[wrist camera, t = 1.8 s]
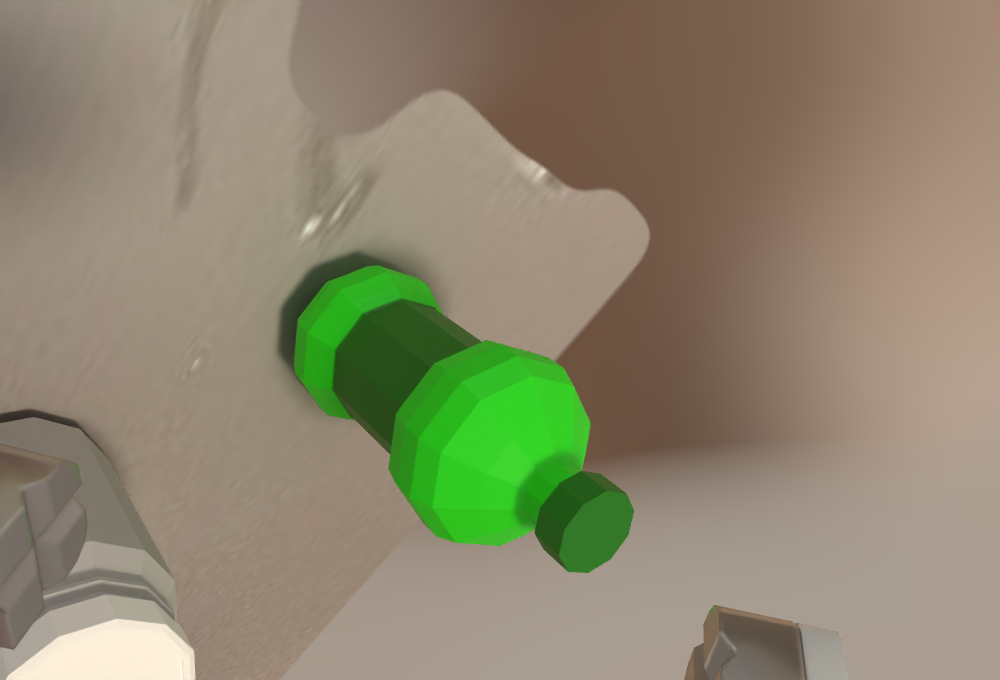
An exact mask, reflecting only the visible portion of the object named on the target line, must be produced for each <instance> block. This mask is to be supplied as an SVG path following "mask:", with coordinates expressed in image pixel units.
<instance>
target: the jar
mask: <svg viewBox="0 0 1000 680" xmlns="http://www.w3.org/2000/svg"><path fill="white" fill-rule="evenodd" d="M0 443H1V444H5V445H9V446H13V447H17V448H21V449H25V450H29V451H33V452H37V453H41V454H45V455H49V456H53V457H57V458H61V459H65V460H69V461H71V462H73V463H76V464H78V467H79V472H80V477H81V482H82V484H81V485H80V487H79V488H78V489H77V491H76V492H75V493H74V494H73V495H74V496H75V497H76V498H77V500H78V501H79V502H80V503H81V504H82V505H83V507H84V508H85V509H86V515H87V522H88V524H87V533H86V541H85V543H84V546H83V548H82V551H81V553H80V556H79V558H78V561H77V563H76V564H75V566H74V567H73V569H72V570H71V572H70V573H69V575H68V576H67V577H66V579H65V580H64V581H62V582H60V583H58V584H56V585H54V586H52V587H50V588H48V589H46V590H44V591H43V596H44V605H45V608H44V609H43V611H42V612H41V614H40V615H39V616H38V618H37V619H36V620H35V622H34V623H33V624H32V626H31V627H30V629H29V630H28V631H27V633H26V634H25V635H24V637H23V638H22V640H21V641H20V642H19V644H18V645H17V646H16V648H15V649H14V650H12V649H7V648H2V647H0V680H195V664H194V650H193V648H192V646H191V644H190V643H189V641H188V639H187V637H186V635H185V633H184V632H183V630H182V628H181V627H180V626H179V625H178V624H177V605H176V586H175V580H174V578H173V576H172V574H171V572H170V571H169V569H168V567H167V565H166V563H165V562H164V560H163V558H162V556H161V554H160V553H159V551H158V549H157V547H156V545H155V543H154V542H153V540H152V538H151V536H150V534H149V533H148V531H147V529H146V527H145V525H144V524H143V522H142V520H141V518H140V516H139V514H138V513H137V511H136V509H135V507H134V505H133V504H132V502H131V500H130V498H129V496H128V495H127V493H126V491H125V489H124V487H123V485H122V484H121V482H120V480H119V478H118V476H117V475H116V473H115V471H114V469H113V467H112V466H111V464H110V462H109V460H108V458H107V457H106V456H105V455H104V454H103V453H102V452H101V451H100V450H99V449H98V448H97V446H96V445H95V444H94V443H93V442H92V441H91V440H90V439H89V438H88V437H87V436H86V435H85V434H84V433H83V432H82V430H81V429H78V428H74V427H71V426H67V425H63V424H59V423H55V422H51V421H48V420H44V419H40V418H36V417H31V418H26V419H20V420H15V421H10V422H4V423H0Z"/></svg>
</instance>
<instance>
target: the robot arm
mask: <svg viewBox="0 0 1000 680" xmlns="http://www.w3.org/2000/svg"><path fill="white" fill-rule="evenodd" d="M81 484H82V482H81V477H80V472H79V467H78V464H76V463H73V462H71V461H69V460H65V459H61V458H57V457H53V456H49V455H45V454H41V453H37V452H33V451H29V450H25V449H21V448H17V447H13V446H9V445H5V444H1V443H0V647H2V648H7V649H12V650H14V649H15V648H16V646H17V645H18V644H19V642H20V641H21V640H22V638H23V637H24V635H25V634H26V633H27V631H28V630H29V629H30V627H31V626H32V624H33V623H34V622H35V620H36V619H37V618H38V616H39V615H40V614H41V612H42V611H43V609H44V608H45V605H44V596H43V591H44V590H46V589H48V588H50V587H52V586H54V585H56V584H58V583H60V582H62V581H64V580H65V579H66V577H67V576H68V575H69V573H70V572H71V570H72V569H73V567H74V566H75V564H76V563H77V561H78V558H79V556H80V553H81V551H82V548H83V546H84V543H85V541H86V533H87V524H88V522H87V515H86V509H85V508H84V507H83V505H82V504H81V503H80V502H79V501H78V500H77V498H76V497H75V496H74V495H73V494H74V493H75V492H76V491H77V489H78V488H79V487H80V485H81ZM685 680H850V679H849V673H848V668H847V662H846V657H845V651H844V645H843V640H842V638H841V637H840V635H839V633H838V632H835V631H830V630H826V629H822V628H817V627H813V626H808V625H804V624H799V623H795V624H794V623H793V622H792V621H787V620H782V619H777V618H773V617H767V616H763V615H759V614H753V613H749V612H745V611H739V610H735V609H731V608H726V607H721V606H717V605H714V606H713V607H712V609H711V610H710V611H709V613H708V615H707V618H706V620H705V623H704V643H703V644H701V645H699V646H697V647H695V648H694V650H693V652H692V655H691V658H690V661H689V663H688V667H687V671H686V676H685Z"/></svg>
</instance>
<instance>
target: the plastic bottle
mask: <svg viewBox="0 0 1000 680" xmlns="http://www.w3.org/2000/svg"><path fill="white" fill-rule="evenodd" d="M294 370H295V374H296V375H297V377H298V378H299V379H300V381H301V382H302V383H303V385H304V386H305V388H306V389H307V390H308V392H309V393H310V395H311V396H312V397H313V399H314V400H315V401H316V403H317V404H318V406H319V407H320V408H321V409H322V410H323V411H324V412H325V413H326V414H327V415H330V416H335V417H339V418H345V419H351V420H356V421H357V422H358V423H359V424H360V425H361V426H362V427H363V428H364V429H365V430H366V431H367V432H368V433H369V434H370V435H371V436H372V437H373V438H374V439H375V440H376V441H377V442H378V443H379V444H380V445H381V446H382V447H383V448H384V449H385V450H386V451H387V452H388V453H389V454H390V461H389V471H390V473H391V475H392V477H393V479H394V481H395V483H396V485H397V486H398V488H399V489H400V490H401V492H402V493H403V495H404V496H405V497H406V499H407V500H408V502H409V503H410V505H411V506H412V507H413V509H414V510H415V512H416V513H417V515H418V516H419V517H420V519H421V520H422V522H423V523H424V524H425V525H426V526H427V527H428V528H429V529H430V530H431V531H432V532H433V533H434V534H435V535H436V536H437V537H440V538H443V539H446V540H449V541H452V542H456V543H468V544H481V545H495V546H501V545H503V544H505V543H507V542H510V541H512V540H514V539H517V538H519V537H521V536H523V535H525V534H527V533H529V532H530V531H532V530H534V529H535V535H536V537H537V538H538V540H539V542H540V543H541V545H542V547H543V549H544V550H545V551H546V552H547V553H548V554H549V555H550V556H551V557H553V558H554V559H555V560H556V561H557V562H558V563H559V564H560V565H561V566H563V567H564V568H565V569H566V570H567V571H568V572H581V573H582V572H583V573H589V572H590V571H592V570H593V569H595V568H597V567H598V566H600V565H602V564H603V563H605V562H607V561H608V560H610V559H611V558H612V556H613V555H614V554H615V552H616V551H617V550H618V548H619V547H620V546H621V544H622V543H623V542H624V540H625V539H626V538H627V536H628V534H629V530H630V526H631V521H632V518H633V513H634V509H633V507H632V505H631V503H630V500H629V498H628V496H627V494H626V493H625V492H624V491H622V490H621V489H620V488H618V487H617V486H616V485H614V484H613V483H612V482H611V481H609V480H608V479H607V478H605V477H604V476H602V475H601V474H598V473H592V472H585V471H582V467H583V462H584V457H585V453H586V447H587V442H588V437H589V431H590V426H591V424H590V421H589V419H588V417H587V415H586V412H585V410H584V408H583V406H582V404H581V401H580V399H579V397H578V395H577V392H576V390H575V388H574V386H573V384H572V382H571V380H570V379H569V377H568V375H567V373H566V372H565V370H564V368H563V367H561V366H560V365H558V364H557V363H555V362H554V361H552V360H551V359H549V358H548V357H545V356H542V355H538V354H535V353H532V352H529V351H525V350H521V349H518V348H514V347H510V346H507V345H503V344H499V343H496V342H492V341H488V340H485V341H483V342H481V341H480V340H478V339H477V338H475V337H474V336H473V335H471V334H470V333H468V332H467V331H465V330H464V329H463V328H461V327H460V326H458V325H457V324H456V323H454V322H453V321H451V320H450V319H448V318H447V317H446V316H444V314H443V312H442V310H441V309H440V307H439V305H438V303H437V301H436V299H435V298H434V296H433V294H432V292H431V290H430V288H429V287H428V285H427V284H426V283H424V282H423V281H421V280H420V279H419V278H416V277H413V276H410V275H407V274H403V273H400V272H397V271H394V270H391V269H387V268H384V267H381V266H378V265H377V266H367V267H364V268H362V269H359V270H356V271H354V272H351V273H348V274H346V275H343V276H341V277H338V278H335V279H333V280H330V281H327V282H326V283H325V284H324V286H323V287H322V288H321V289H320V291H319V292H318V293H317V295H316V296H315V297H314V299H313V300H312V301H311V302H310V304H309V305H308V306H307V308H306V309H305V310H304V311H303V313H302V314H301V315H300V317H299V318H298V319H297V330H296V342H295V353H294Z"/></svg>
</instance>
